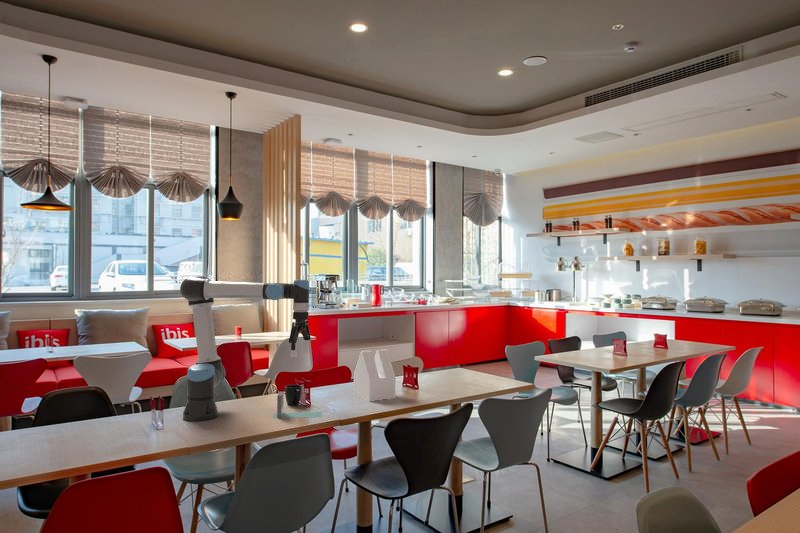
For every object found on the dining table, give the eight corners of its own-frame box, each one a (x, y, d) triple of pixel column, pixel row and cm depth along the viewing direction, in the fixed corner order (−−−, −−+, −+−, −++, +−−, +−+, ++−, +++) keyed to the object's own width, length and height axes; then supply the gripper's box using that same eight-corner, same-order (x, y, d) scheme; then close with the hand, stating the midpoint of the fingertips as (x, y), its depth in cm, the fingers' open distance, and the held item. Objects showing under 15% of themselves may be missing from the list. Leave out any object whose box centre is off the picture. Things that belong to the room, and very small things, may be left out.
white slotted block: (353, 395, 301) (353, 349, 301) (378, 392, 309) (378, 347, 309) (369, 401, 284) (369, 353, 285) (395, 398, 292) (395, 351, 292)
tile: (277, 417, 249) (277, 395, 249) (279, 413, 258) (279, 391, 258) (281, 417, 249) (281, 395, 249) (283, 412, 258) (283, 391, 258)
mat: (272, 419, 248) (272, 418, 248) (274, 413, 258) (274, 412, 258) (321, 417, 251) (321, 417, 251) (322, 412, 260) (322, 411, 260)
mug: (290, 409, 266) (290, 389, 267) (282, 404, 277) (282, 385, 277) (306, 407, 271) (306, 388, 271) (298, 402, 281) (298, 384, 281)
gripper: (297, 313, 254) (295, 359, 254) (317, 310, 278) (316, 352, 278) (282, 312, 256) (280, 358, 255) (304, 309, 280) (302, 351, 280)
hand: (299, 355), depth 267 cm, fingers open, 13 cm apart
